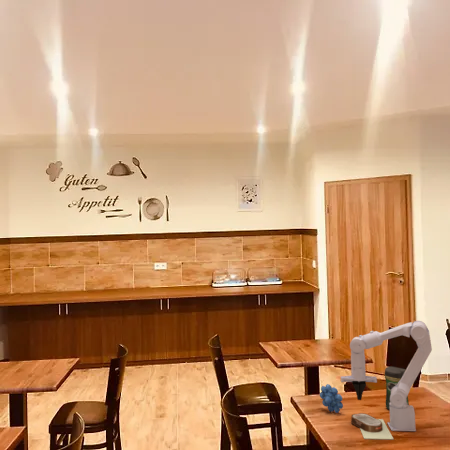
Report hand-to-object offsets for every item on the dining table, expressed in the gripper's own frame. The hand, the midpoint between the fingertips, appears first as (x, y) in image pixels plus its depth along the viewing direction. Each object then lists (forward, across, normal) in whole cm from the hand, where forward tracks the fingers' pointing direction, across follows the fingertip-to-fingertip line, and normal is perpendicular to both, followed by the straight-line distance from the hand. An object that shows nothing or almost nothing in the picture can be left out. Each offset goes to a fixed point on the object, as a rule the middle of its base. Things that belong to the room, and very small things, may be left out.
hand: (359, 399), depth 205 cm
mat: (+10, -4, +6) cm, 12 cm away
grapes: (+10, +11, -12) cm, 19 cm away
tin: (+8, +2, +5) cm, 10 cm away
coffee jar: (+10, -19, -17) cm, 27 cm away
